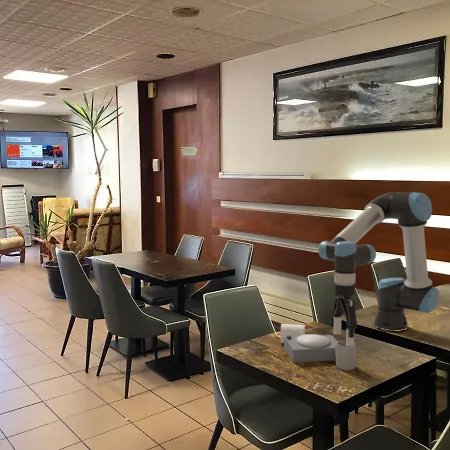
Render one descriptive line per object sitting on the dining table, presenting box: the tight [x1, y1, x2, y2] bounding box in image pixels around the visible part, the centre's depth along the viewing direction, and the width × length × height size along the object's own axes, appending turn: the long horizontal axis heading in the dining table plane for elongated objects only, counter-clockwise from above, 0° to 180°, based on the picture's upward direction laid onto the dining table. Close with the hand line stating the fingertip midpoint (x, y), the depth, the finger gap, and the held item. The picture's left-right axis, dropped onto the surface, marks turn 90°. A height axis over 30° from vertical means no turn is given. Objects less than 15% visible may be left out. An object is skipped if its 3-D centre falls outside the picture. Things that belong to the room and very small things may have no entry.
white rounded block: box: [280, 323, 306, 344], centre depth 210 cm, size 12×10×8 cm
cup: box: [335, 340, 357, 371], centre depth 182 cm, size 7×10×9 cm
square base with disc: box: [283, 333, 338, 363], centre depth 195 cm, size 20×15×6 cm
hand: (343, 339), depth 182 cm, fingers open, 13 cm apart
